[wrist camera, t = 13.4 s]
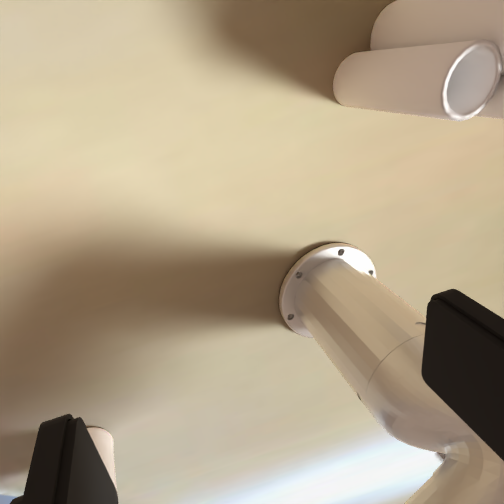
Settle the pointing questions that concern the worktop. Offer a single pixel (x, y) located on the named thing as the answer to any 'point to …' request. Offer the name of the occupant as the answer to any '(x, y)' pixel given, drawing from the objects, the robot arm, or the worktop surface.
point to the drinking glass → (105, 449)
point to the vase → (430, 61)
